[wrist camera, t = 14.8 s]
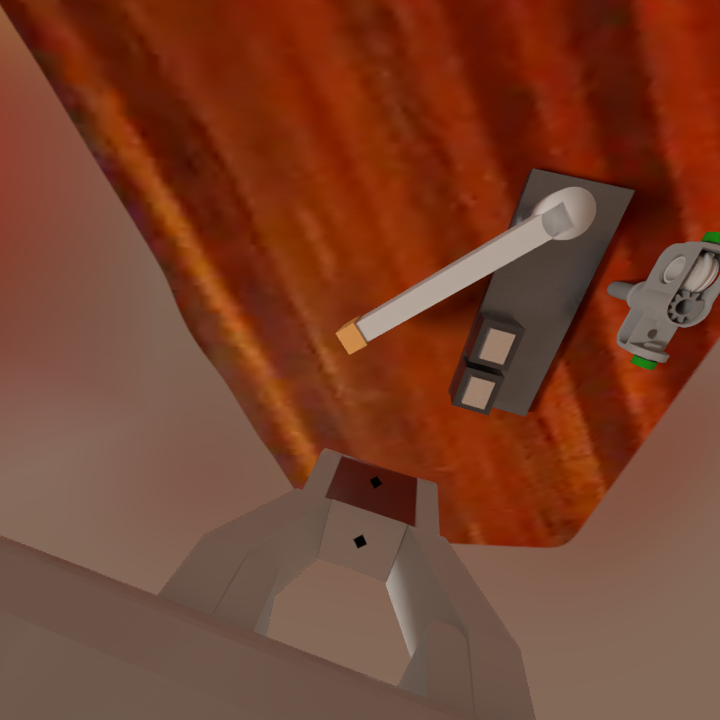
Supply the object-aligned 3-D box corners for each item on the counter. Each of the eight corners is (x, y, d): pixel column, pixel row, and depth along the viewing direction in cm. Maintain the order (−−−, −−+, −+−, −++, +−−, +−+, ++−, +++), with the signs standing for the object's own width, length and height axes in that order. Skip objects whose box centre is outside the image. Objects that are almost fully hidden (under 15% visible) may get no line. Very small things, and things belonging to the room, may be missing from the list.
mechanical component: (577, 332, 35) (629, 364, 26) (627, 232, 32) (709, 229, 22) (605, 339, 35) (669, 375, 26) (660, 239, 31) (757, 239, 22)
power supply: (479, 311, 35) (485, 319, 32) (517, 321, 35) (527, 330, 32) (465, 350, 37) (468, 362, 34) (500, 360, 37) (508, 373, 33)
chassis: (529, 170, 31) (549, 157, 26) (627, 192, 31) (667, 182, 25) (448, 390, 40) (451, 412, 35) (522, 411, 40) (536, 437, 34)
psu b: (463, 356, 37) (466, 368, 34) (498, 366, 37) (505, 379, 34) (450, 391, 39) (452, 406, 36) (483, 401, 39) (489, 417, 35)
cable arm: (567, 182, 26) (585, 175, 23) (584, 223, 27) (605, 221, 24) (341, 319, 34) (332, 327, 31) (359, 348, 35) (352, 360, 31)
